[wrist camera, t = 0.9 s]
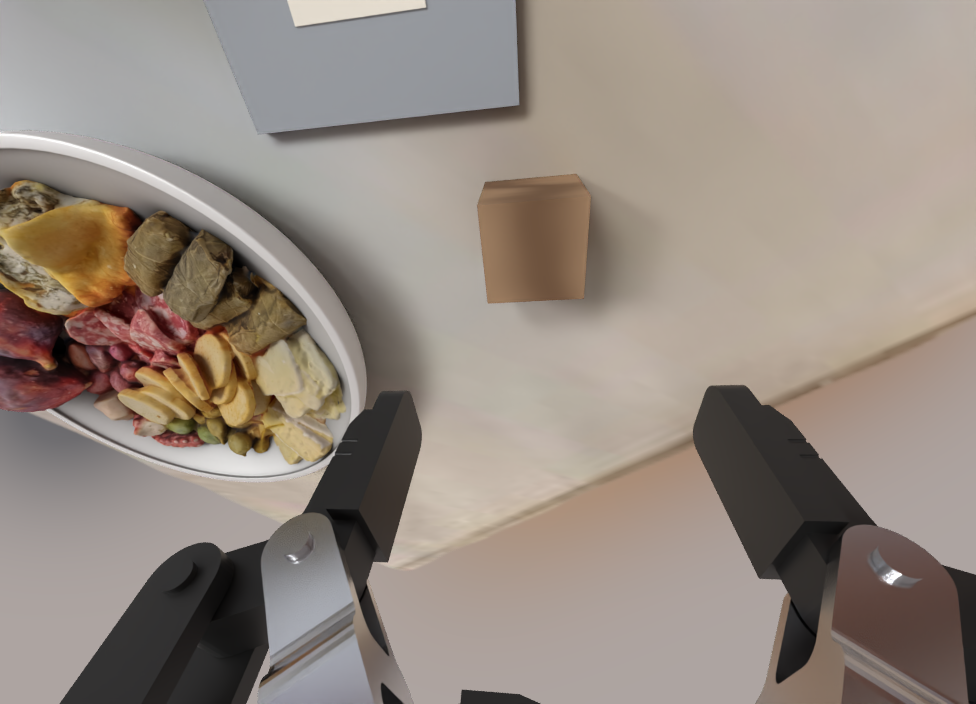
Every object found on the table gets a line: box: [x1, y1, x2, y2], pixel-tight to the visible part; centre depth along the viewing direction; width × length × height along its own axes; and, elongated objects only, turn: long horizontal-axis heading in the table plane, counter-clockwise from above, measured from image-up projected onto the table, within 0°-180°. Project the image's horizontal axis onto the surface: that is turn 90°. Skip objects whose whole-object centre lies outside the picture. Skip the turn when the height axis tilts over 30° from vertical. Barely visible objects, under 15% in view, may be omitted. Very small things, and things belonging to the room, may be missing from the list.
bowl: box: [0, 130, 367, 482], centre depth 28 cm, size 30×30×8 cm
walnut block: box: [477, 174, 591, 303], centre depth 21 cm, size 6×6×6 cm
